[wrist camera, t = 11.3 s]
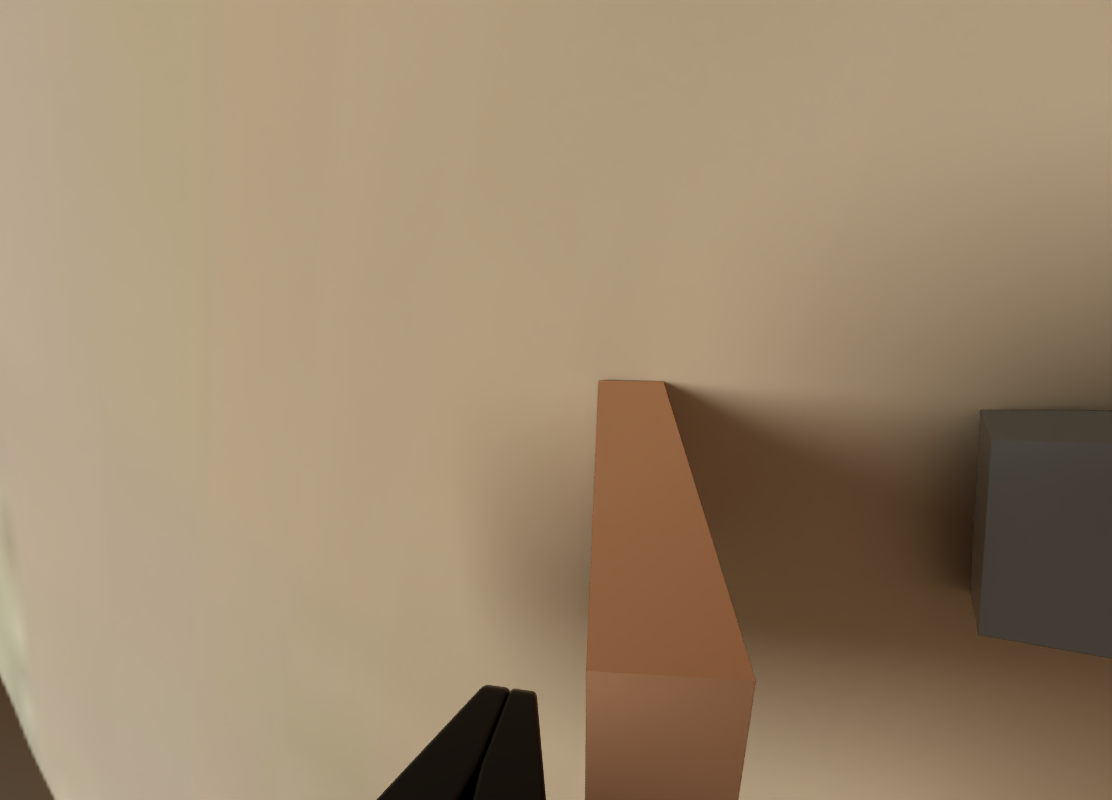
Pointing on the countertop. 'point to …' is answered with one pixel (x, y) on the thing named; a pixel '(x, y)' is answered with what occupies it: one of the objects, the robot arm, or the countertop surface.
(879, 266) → the countertop surface
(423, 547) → the countertop surface
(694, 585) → the domino
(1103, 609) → the domino
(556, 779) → the countertop surface
